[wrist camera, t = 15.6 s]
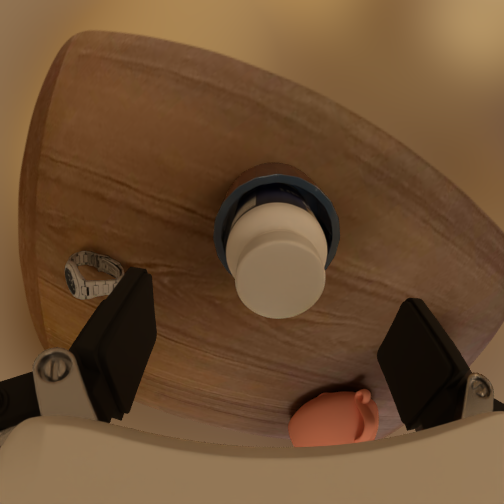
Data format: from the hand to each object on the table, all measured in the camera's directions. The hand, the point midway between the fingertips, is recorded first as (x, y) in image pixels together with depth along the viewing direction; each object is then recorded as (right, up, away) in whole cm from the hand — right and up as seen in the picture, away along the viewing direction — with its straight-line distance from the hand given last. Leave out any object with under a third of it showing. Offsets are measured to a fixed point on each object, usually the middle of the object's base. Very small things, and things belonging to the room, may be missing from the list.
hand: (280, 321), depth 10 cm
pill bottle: (0, +5, +11) cm, 13 cm away
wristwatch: (-15, +1, +15) cm, 21 cm away
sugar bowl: (+10, -18, +23) cm, 31 cm away
